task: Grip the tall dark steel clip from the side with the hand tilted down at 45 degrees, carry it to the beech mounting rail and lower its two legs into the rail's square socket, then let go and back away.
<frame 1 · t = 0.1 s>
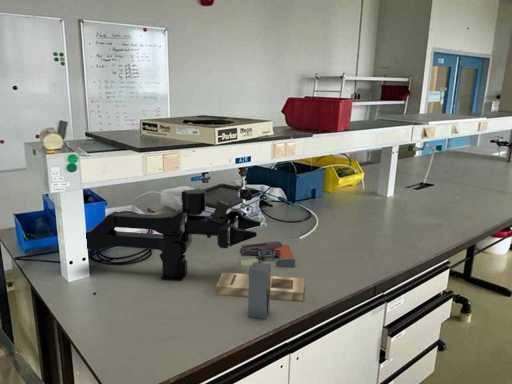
hand: (258, 229, 122), 17 cm above the workbench, tool horizontal, fingers open, 9 cm apart
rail: (260, 290, 121), on the workbench
toy gun: (266, 259, 144), on the workbench
clip: (258, 314, 108), on the workbench
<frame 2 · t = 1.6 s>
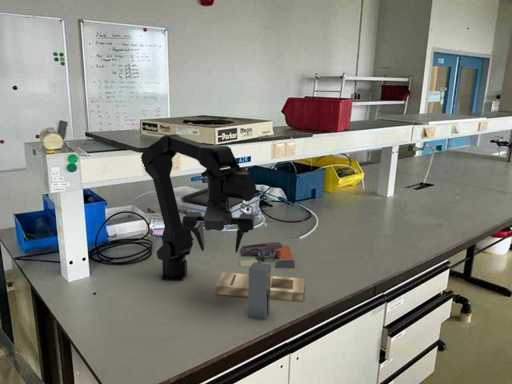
hand: (219, 251, 114), 13 cm above the workbench, tool pointing down, fingers open, 9 cm apart
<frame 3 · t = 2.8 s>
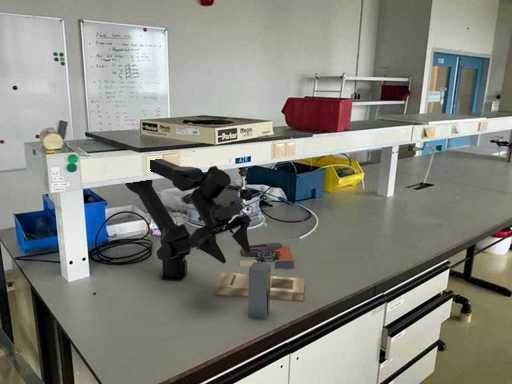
hand: (237, 257, 110), 13 cm above the workbench, tool tilted 45°, fingers open, 9 cm apart
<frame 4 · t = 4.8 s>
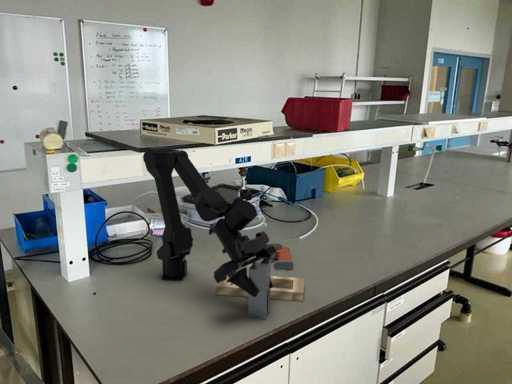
hand: (263, 292, 106), 7 cm above the workbench, tool tilted 45°, fingers closed on clip, 6 cm apart
clip: (258, 313, 108), on the workbench, touching gripper
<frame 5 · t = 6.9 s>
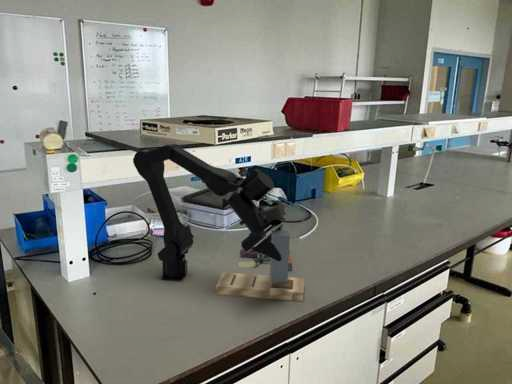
hand: (284, 256, 113), 12 cm above the workbench, tool tilted 45°, fingers closed on clip, 6 cm apart
clip: (278, 278, 115), point 6 cm above the workbench, touching gripper
when the fingers open (8 cm above the workbench, at t = 8.7 s): clip drops 1 cm, resting in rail.
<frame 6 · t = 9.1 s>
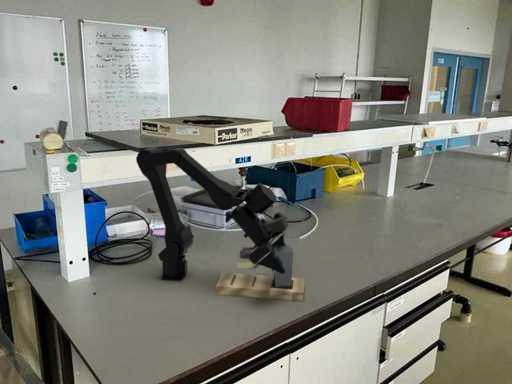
hand: (287, 266, 118), 8 cm above the workbench, tool tilted 45°, fingers open, 9 cm apart
clip: (281, 292, 120), resting in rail
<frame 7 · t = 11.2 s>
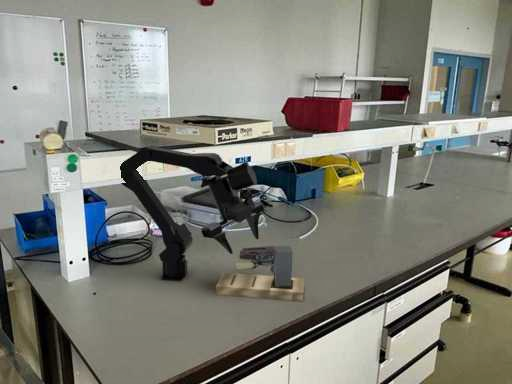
hand: (244, 246, 122), 12 cm above the workbench, tool tilted 25°, fingers open, 9 cm apart
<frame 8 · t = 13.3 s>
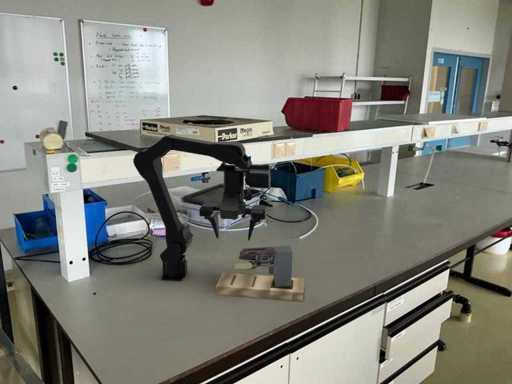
hand: (233, 239, 124), 13 cm above the workbench, tool pointing down, fingers open, 9 cm apart
at the end: clip 0.1 cm from the target spot on the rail, point 0.0 cm above the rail's base; clip tilted 0°; the gripper is holding nothing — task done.
